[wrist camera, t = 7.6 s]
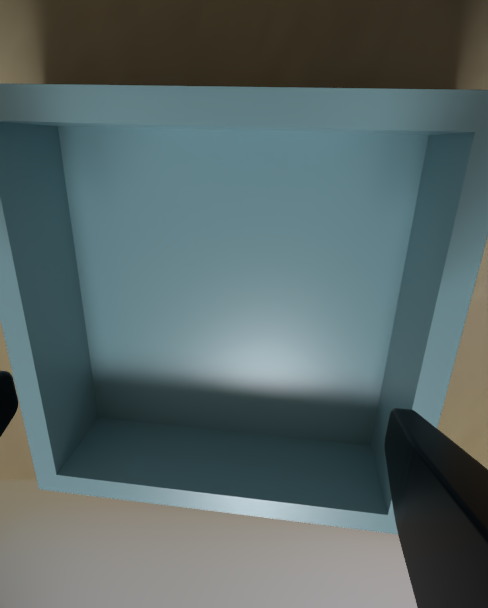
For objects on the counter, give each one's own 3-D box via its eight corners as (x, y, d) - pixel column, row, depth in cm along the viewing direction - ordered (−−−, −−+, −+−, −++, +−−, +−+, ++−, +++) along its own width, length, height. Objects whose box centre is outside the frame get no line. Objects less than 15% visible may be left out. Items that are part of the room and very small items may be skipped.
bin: (453, 107, 12) (525, 90, 8) (383, 449, 17) (408, 535, 13) (44, 100, 13) (-54, 82, 9) (91, 418, 18) (39, 489, 14)
